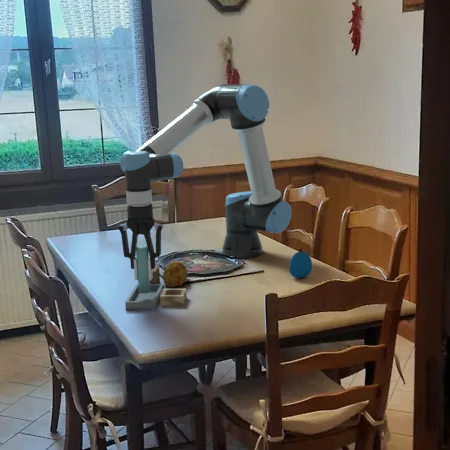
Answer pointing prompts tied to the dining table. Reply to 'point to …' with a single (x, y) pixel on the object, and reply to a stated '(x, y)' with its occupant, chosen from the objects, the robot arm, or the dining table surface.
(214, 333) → the dining table surface
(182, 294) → the socket block
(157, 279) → the block
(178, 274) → the rock
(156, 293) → the tray
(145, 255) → the dowel
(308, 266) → the ornament
